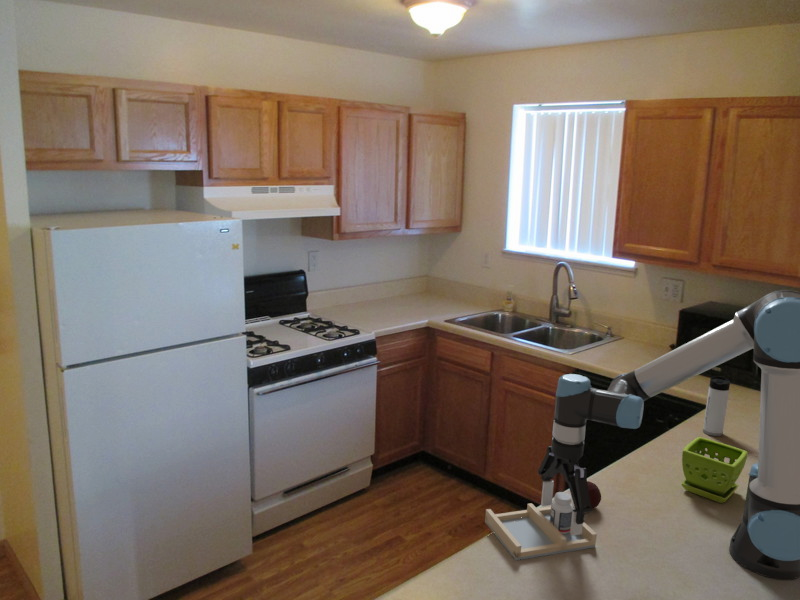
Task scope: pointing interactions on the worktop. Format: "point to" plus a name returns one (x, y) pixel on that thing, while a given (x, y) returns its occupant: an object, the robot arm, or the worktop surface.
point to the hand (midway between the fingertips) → (560, 518)
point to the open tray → (535, 533)
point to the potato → (594, 494)
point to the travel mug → (716, 406)
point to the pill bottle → (561, 512)
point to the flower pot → (712, 468)
